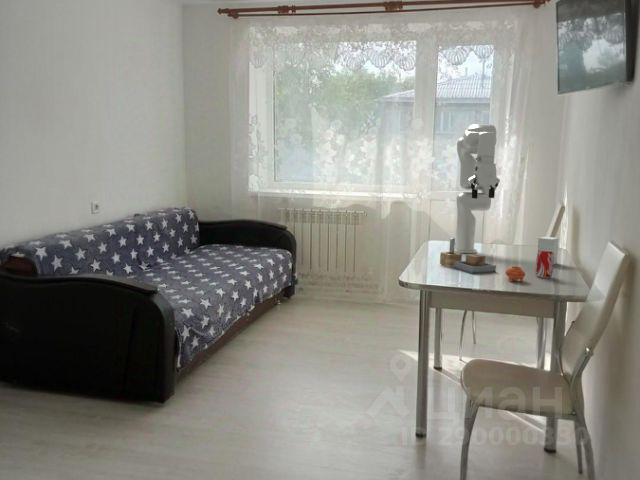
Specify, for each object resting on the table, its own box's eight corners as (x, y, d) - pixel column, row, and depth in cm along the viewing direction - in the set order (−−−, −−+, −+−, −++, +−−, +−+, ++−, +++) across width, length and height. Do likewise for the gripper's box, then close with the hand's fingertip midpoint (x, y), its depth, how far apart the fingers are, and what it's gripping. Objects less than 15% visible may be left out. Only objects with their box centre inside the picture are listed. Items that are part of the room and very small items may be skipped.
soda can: (544, 279, 252) (546, 251, 250) (531, 275, 258) (533, 248, 256) (555, 277, 255) (558, 250, 253) (542, 274, 261) (545, 247, 259)
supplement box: (557, 263, 287) (559, 237, 285) (551, 265, 282) (553, 239, 280) (542, 261, 292) (544, 236, 290) (536, 263, 287) (538, 237, 285)
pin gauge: (450, 264, 275) (452, 238, 274) (447, 263, 277) (449, 238, 276) (454, 263, 276) (456, 238, 275) (451, 263, 278) (453, 237, 276)
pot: (500, 278, 251) (505, 262, 250) (517, 282, 252) (522, 267, 251) (507, 281, 243) (512, 266, 242) (525, 286, 244) (530, 270, 243)
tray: (454, 268, 271) (454, 261, 270) (476, 266, 276) (477, 260, 275) (472, 273, 259) (472, 267, 258) (495, 271, 264) (496, 265, 264)
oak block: (439, 264, 279) (440, 252, 278) (451, 263, 282) (452, 251, 281) (448, 267, 272) (449, 254, 271) (461, 266, 275) (461, 254, 274)
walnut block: (473, 270, 263) (474, 256, 263) (465, 267, 269) (466, 254, 268) (484, 269, 266) (485, 256, 265) (475, 266, 271) (476, 253, 270)
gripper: (475, 160, 258) (472, 199, 261) (506, 160, 265) (503, 198, 268) (464, 159, 265) (462, 197, 267) (494, 160, 272) (492, 197, 274)
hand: (482, 198), depth 267 cm, fingers open, 9 cm apart
